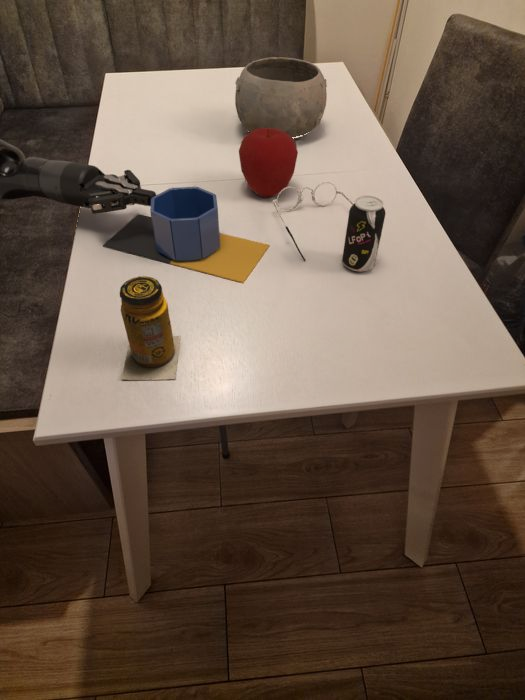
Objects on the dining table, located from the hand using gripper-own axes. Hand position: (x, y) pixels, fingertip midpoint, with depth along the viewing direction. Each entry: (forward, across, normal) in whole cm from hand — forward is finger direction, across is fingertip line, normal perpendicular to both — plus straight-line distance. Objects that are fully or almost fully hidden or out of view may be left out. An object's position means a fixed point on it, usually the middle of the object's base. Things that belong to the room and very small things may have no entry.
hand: (154, 199), depth 84 cm
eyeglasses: (+26, +14, +9) cm, 31 cm away
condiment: (+14, -27, +8) cm, 32 cm away
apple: (+12, +24, +9) cm, 28 cm away
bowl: (+3, +56, +9) cm, 56 cm away
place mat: (+5, 0, +8) cm, 10 cm away
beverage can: (+36, +6, +9) cm, 37 cm away
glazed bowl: (+6, 0, +8) cm, 10 cm away
